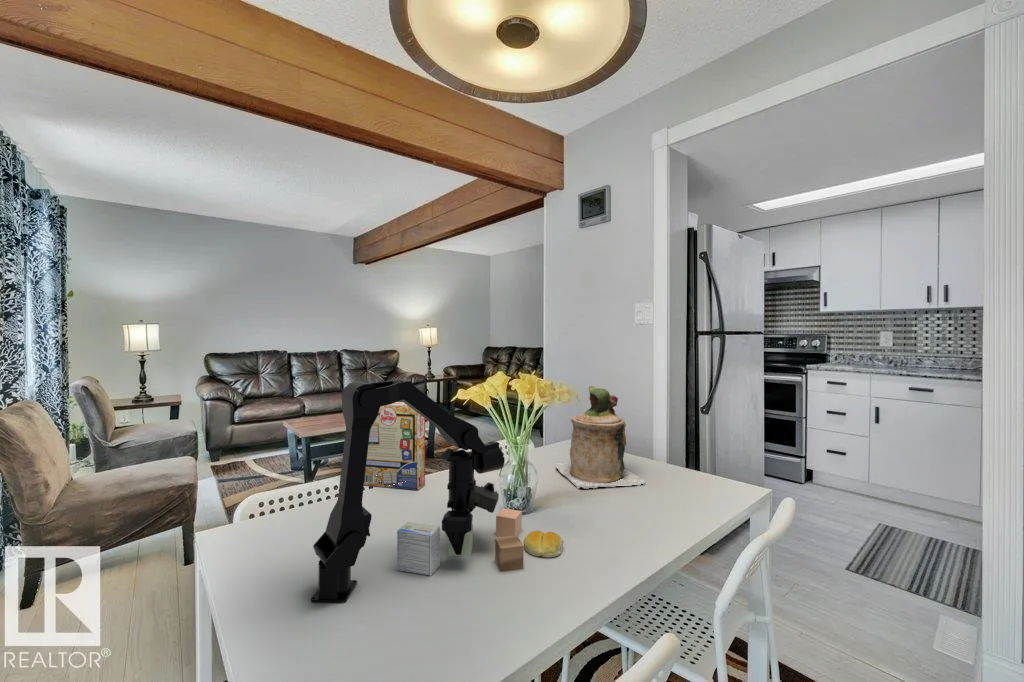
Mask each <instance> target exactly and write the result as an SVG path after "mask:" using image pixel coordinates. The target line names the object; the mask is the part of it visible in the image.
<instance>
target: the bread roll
mask: <svg viewBox="0 0 1024 682" xmlns="http://www.w3.org/2000/svg"><path fill="white" fill-rule="evenodd" d="M523 545H524V551H526V552H527V553H528V554H529V555H532V556H534V557H541V556H542V557H543V558H547V559H549V558H555V557H558V556H560V555H561V553H562V552H563V548H564V539H562V538H561V536H560V535H559V534H557V533H555V531H547V532H543V531H541V530H533V531H530V532H529V533H528V534H526V536H525V537H524V540H523Z"/></svg>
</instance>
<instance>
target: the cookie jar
mask: <svg viewBox="0 0 1024 682" xmlns="http://www.w3.org/2000/svg"><path fill="white" fill-rule="evenodd" d="M588 392H589V401H590V408H588V409H587V410H586V411H585V412H583V413H581V414H576V415H574V416H572V417H571V418H570V422H571V423H572V426H573V427H572V434H571V440H570V448H569V457H570V459H569V460H570V462H555V463H554V466H555V469H556V468H557V469H558V470H557V471H558V472H560V474H562V475H563V476H564V477H565V478H566V479H567V480H568V481H569V482H570V483H572V484H573V485H574V486H575V487H576V488H579V489H580V488H582V489H586V490H590V489H589V488H593V489H598V488H599V487H612V486H613V488H615V487H614V486H624V485H619V484H616V483H612V482H616V481H618V480H620V479H623V480H626V481H629V482H631V483H634V484H643V485H644V484H645V479H644V478H642V477H641V476H639V475H637V474H635V473H634V472H632V471H631V470H629V469H626V468H625V465H626V464H625V461H624V457H625V451H626V446H627V444H628V443H627V438H626V437H627V436H626V432H625V431H626V425H627V424H626V422H625V420H624V419H623V418H621V417H620V416H619V415H618V414H616V411H615V409H614V407H617V406H618V405H617V404H618V400H619V397H618V396H616V395H613V394H610V392H609V390H607V389H606V388H599V387H598V388H597V387H595V386H593V385H589V387H588Z"/></svg>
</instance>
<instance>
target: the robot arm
mask: <svg viewBox="0 0 1024 682" xmlns="http://www.w3.org/2000/svg"><path fill="white" fill-rule="evenodd" d="M395 402H404V403H405V404H406V405H408V406H409V407H410V408H412V409H413V410H414V411H416V412H417V413H418V414H420V415H421V416H422V417H424V418H425V421H428V422H429V423H430V424H432V426H434V427H435V428H436V429H437V431H438V433H439V434H440V435H441V437H442V438H443V439H444V440H445V442H446V443H448V444H449V445H452V446H453V447H456V448H459V449H456V450H453V449H452V448H448V447H447V448H446V450H445V451H444V452H443V453H442V454H441V455H440V456H439V458H440V459H442V460H444V461H445V462H448V483H447V484H446V485H447V488H446V490H448V501H447V503H446V505H447V506H446V508H447V509H450V510H447V511H446V512H445V513H444V514H443V518H442V519H441V531H443V532H444V533H445V535H446V536H447V539H449V541H450V543H451V545H452V547H453V549H454V551H455V554H456V555H461V552H462V547H463V542H464V537H465V534H466V533H467V532H470V531H471V529H472V524H473V520H474V518H473V517H474V515H473V514H472V512H473V511H474V509H476V508H479V509H482V510H485V511H487V512H488V513H494V512H495V509H496V508H497V503H498V502H499V493H498V491H497V490H496V491H495V485H494V483H492V482H487V483H486V484H484V486H483V485H481V486H479V485H477V480H476V478H475V472H476V473H478V474H486V473H489V472H495V471H499V470H502V469H503V467H504V465H505V457H504V456H505V455H504V453H503V450H502V449H501V448H500V443H499V442H498V441H495V440H493V441H489V442H485V443H484V442H483V440H482V438H481V437H480V436H479V433H480V432H479V429H478V428H477V427H476V426H475V425H474V424H472V423H470V422H468V421H466V420H464V419H462V418H460V417H457V416H455V415H454V414H451V413H450V412H448V411H447V410H446V409H445V408H443V407H442V406H441V405H439V404H438V403H437V402H436V401H435V400H433V398H431V397H429V396H428V395H427V394H426V393H424V392H423V391H422V390H420V388H418V387H417V386H416V385H415V384H414V383H413V382H412V381H411V380H408V379H405V378H404V379H403V378H396V379H393V380H386V381H379V382H378V381H377V382H369V383H367V382H365V381H359V380H357V381H352V382H350V383H348V384H347V385H346V386H344V388H343V389H342V392H341V405H342V406H341V409H342V416H343V419H344V424H345V434H344V436H345V437H344V442H343V443H344V444H343V452H342V460H341V469H340V479H339V486H338V487H339V488H338V493H337V500H336V503H335V505H334V506H333V508H332V510H331V512H330V515H329V518H328V521H327V525H326V528H325V531H324V532H323V533H322V535H321V536H320V537H319V538H318V540H316V541H315V543H314V544H313V545H312V547H313V549H314V552H315V554H316V556H318V558H319V560H318V585H317V587H318V588H317V590H316V591H315V592H314V594H313V595H312V596H311V598H310V602H311V603H345V602H347V600H348V599H349V597H350V596H351V594H352V593H353V591H354V590H355V588H356V586H357V585H358V581H357V580H356V579H353V580H352V567H353V566H355V564H356V562H357V559H358V556H359V553H360V550H361V549H362V548H364V547H365V545H366V541H367V537H371V534H370V525H371V522H372V513H370V511H368V510H367V509H366V508H365V507H364V506H363V497H364V495H363V494H364V488H365V485H364V480H365V471H366V462H367V454H368V445H369V436H370V430H371V427H372V426H373V424H374V422H375V420H376V418H377V416H378V413H379V409H380V406H385V405H390V404H392V403H395ZM468 450H470V451H468Z"/></svg>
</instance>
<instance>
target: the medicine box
mask: <svg viewBox="0 0 1024 682" xmlns="http://www.w3.org/2000/svg"><path fill="white" fill-rule="evenodd" d="M440 531H441V530H440V526H439V525H433V524H426V523H418V522H410V521H407V522H406V523H404V524H403V525H402V526H401V527H400V528H399V529H397V531H396V539H397V540H396V543H397V544H396V545H397V546H396V570H397V571H401V572H406V573H407V572H408V573H413V574H418V575H425V576H426V575H427V576H430V577H431V576H432V575H433V574H434V572H435V571H436V570H438V568H439V567H440V564H441V563H440V562H441V560H440V555H441V547H440V544H441V542H440V541H441V539H440V535H441V532H440Z"/></svg>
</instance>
